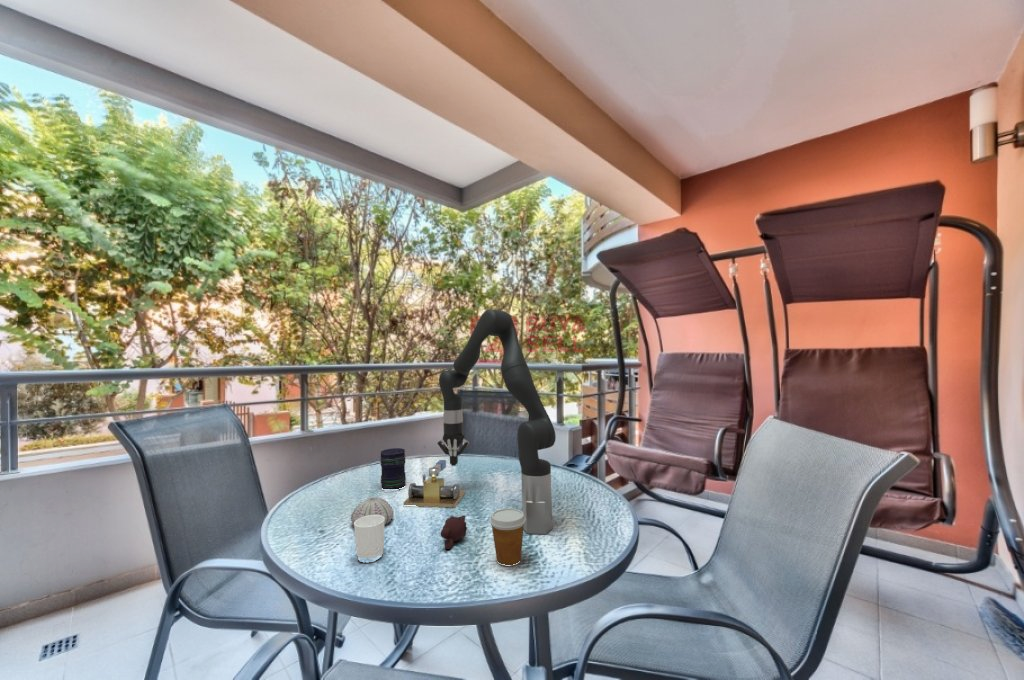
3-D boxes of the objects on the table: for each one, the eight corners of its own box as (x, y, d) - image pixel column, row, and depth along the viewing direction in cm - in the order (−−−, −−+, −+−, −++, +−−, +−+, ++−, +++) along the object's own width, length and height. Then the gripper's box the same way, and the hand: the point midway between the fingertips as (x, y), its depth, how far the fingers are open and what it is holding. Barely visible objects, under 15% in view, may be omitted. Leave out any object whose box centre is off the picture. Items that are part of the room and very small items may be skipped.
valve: (454, 508, 144) (453, 478, 144) (403, 506, 146) (402, 477, 147) (464, 493, 157) (464, 466, 158) (418, 492, 160) (417, 465, 160)
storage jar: (375, 490, 164) (375, 453, 164) (390, 482, 173) (389, 447, 173) (397, 492, 161) (396, 454, 161) (410, 484, 170) (409, 448, 170)
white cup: (375, 547, 116) (374, 512, 117) (391, 555, 111) (390, 519, 112) (349, 559, 110) (348, 522, 111) (364, 568, 105) (364, 529, 106)
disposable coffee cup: (483, 561, 107) (482, 515, 108) (509, 547, 114) (508, 504, 114) (508, 574, 101) (507, 525, 101) (534, 559, 107) (532, 514, 108)
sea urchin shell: (368, 513, 142) (368, 490, 142) (402, 517, 137) (401, 493, 138) (341, 529, 129) (341, 504, 129) (378, 534, 125) (377, 508, 125)
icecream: (451, 507, 128) (428, 532, 114) (471, 503, 126) (451, 528, 112) (457, 528, 128) (435, 556, 114) (478, 524, 126) (459, 552, 112)
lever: (436, 477, 149) (436, 469, 149) (427, 477, 150) (427, 469, 150) (447, 467, 162) (447, 460, 162) (438, 466, 162) (438, 459, 162)
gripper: (433, 422, 157) (434, 467, 156) (466, 422, 155) (467, 468, 154) (440, 419, 164) (440, 462, 164) (471, 419, 162) (472, 462, 162)
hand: (454, 465), depth 159 cm, fingers closed
